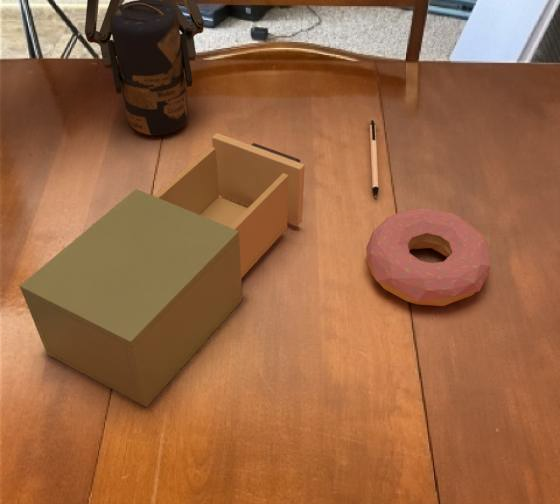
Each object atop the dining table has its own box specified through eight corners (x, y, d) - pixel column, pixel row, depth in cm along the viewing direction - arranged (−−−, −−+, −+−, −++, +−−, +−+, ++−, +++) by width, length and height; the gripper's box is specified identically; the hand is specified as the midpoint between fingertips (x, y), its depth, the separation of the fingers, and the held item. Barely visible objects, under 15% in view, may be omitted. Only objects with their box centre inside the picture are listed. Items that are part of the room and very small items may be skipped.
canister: (164, 147, 102) (147, 26, 88) (115, 128, 105) (91, 8, 91) (201, 118, 108) (191, -2, 93) (154, 100, 111) (137, -18, 96)
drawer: (238, 173, 97) (235, 116, 90) (318, 204, 93) (322, 146, 86) (142, 263, 85) (130, 205, 78) (229, 302, 81) (225, 245, 74)
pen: (374, 123, 107) (375, 117, 106) (378, 199, 95) (379, 192, 94) (369, 123, 107) (370, 117, 106) (372, 199, 95) (373, 192, 94)
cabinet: (148, 258, 87) (135, 188, 79) (242, 300, 83) (239, 230, 74) (46, 354, 77) (19, 285, 69) (146, 407, 73) (130, 341, 64)
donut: (460, 331, 80) (470, 302, 76) (344, 286, 84) (347, 256, 81) (501, 254, 88) (511, 224, 84) (393, 217, 93) (398, 186, 89)
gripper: (205, -69, 101) (227, 87, 104) (52, -58, 98) (80, 102, 101) (207, -98, 94) (232, 71, 96) (42, -88, 91) (72, 86, 93)
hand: (154, 86), depth 99 cm, fingers closed on canister, 9 cm apart
